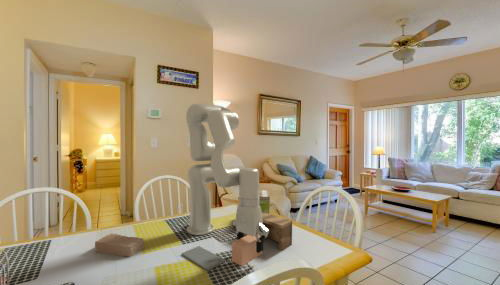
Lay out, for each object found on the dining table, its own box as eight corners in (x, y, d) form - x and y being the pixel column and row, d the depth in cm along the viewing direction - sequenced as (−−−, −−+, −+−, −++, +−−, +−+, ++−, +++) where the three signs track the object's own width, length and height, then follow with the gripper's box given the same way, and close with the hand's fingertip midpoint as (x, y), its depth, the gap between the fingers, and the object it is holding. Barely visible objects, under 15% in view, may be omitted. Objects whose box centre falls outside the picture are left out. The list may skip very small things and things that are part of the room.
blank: (231, 261, 86) (232, 242, 86) (253, 249, 95) (253, 232, 95) (242, 266, 83) (242, 246, 83) (263, 253, 92) (263, 235, 92)
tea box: (269, 225, 121) (270, 196, 120) (250, 225, 121) (250, 196, 120) (268, 215, 136) (268, 189, 135) (250, 215, 136) (250, 189, 135)
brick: (145, 247, 97) (145, 236, 96) (130, 258, 88) (130, 245, 88) (111, 243, 100) (110, 232, 100) (93, 253, 92) (93, 241, 92)
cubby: (243, 235, 108) (243, 213, 108) (254, 230, 113) (254, 209, 113) (282, 250, 94) (282, 225, 94) (291, 244, 99) (292, 220, 99)
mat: (181, 254, 91) (181, 253, 91) (198, 247, 96) (198, 246, 96) (207, 271, 80) (207, 269, 80) (225, 261, 86) (225, 260, 86)
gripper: (226, 199, 91) (226, 244, 91) (260, 208, 80) (261, 259, 80) (239, 196, 97) (240, 238, 97) (274, 203, 85) (274, 251, 85)
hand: (249, 247), depth 88 cm, fingers open, 9 cm apart
